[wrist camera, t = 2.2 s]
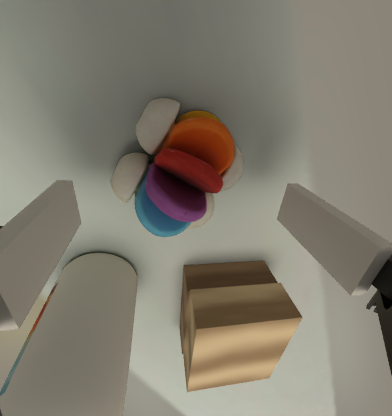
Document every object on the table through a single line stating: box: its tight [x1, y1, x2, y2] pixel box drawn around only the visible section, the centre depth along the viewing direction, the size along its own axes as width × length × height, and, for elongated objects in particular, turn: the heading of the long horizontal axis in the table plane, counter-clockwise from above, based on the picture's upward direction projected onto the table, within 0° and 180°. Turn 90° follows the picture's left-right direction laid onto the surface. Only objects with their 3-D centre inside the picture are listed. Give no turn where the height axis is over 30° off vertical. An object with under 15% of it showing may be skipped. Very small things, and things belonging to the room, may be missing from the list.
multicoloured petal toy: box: [110, 98, 244, 237], centre depth 15 cm, size 8×10×7 cm
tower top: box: [183, 283, 302, 392], centre depth 23 cm, size 12×10×4 cm
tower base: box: [180, 261, 277, 354], centre depth 26 cm, size 12×10×4 cm
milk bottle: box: [0, 253, 137, 416], centre depth 14 cm, size 8×8×20 cm
